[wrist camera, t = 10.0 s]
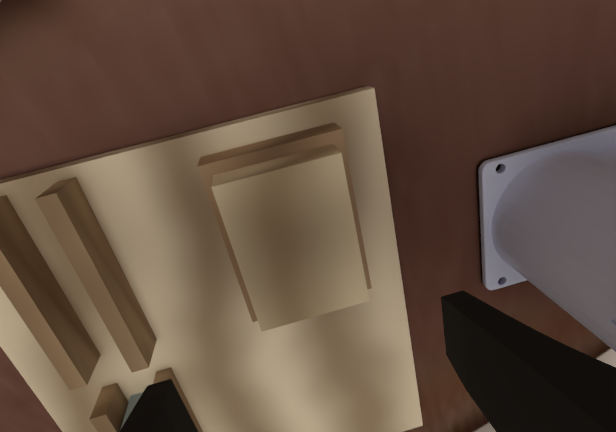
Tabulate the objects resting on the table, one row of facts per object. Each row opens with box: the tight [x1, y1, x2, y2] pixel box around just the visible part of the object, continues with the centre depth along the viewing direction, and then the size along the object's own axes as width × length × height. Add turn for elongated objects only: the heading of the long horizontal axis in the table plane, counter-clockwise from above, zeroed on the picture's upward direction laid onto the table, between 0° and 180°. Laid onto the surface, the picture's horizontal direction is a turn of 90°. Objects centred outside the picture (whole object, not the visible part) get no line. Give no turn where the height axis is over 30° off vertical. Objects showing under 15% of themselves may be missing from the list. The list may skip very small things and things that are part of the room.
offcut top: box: [211, 144, 370, 332], centre depth 17 cm, size 5×7×2 cm
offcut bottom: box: [197, 122, 372, 322], centre depth 18 cm, size 6×8×2 cm
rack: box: [0, 86, 423, 432], centre depth 21 cm, size 20×22×3 cm
